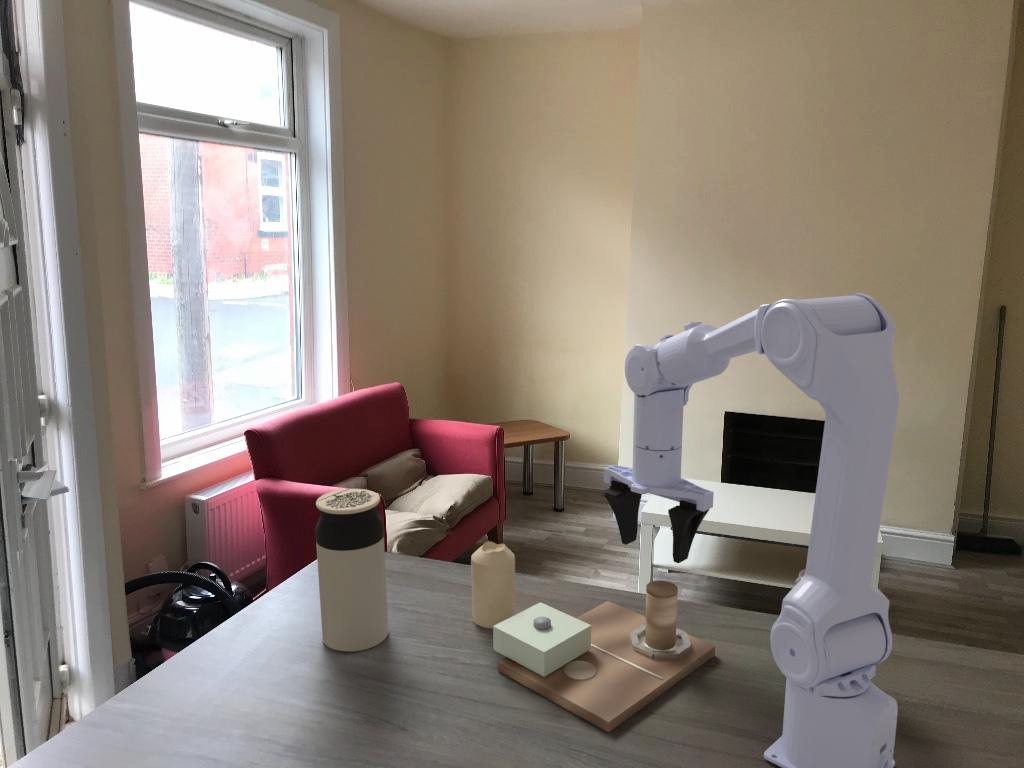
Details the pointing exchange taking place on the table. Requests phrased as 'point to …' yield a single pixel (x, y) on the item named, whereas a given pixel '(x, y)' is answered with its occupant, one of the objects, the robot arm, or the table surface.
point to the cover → (542, 638)
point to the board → (610, 670)
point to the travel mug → (351, 570)
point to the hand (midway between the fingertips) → (654, 550)
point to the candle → (492, 584)
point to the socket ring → (676, 652)
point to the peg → (661, 615)
